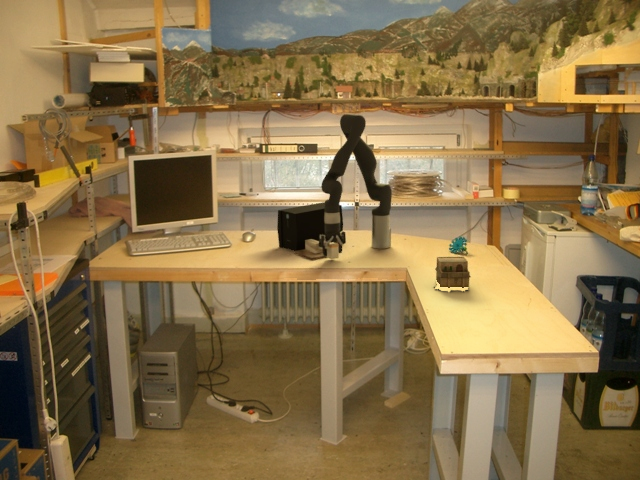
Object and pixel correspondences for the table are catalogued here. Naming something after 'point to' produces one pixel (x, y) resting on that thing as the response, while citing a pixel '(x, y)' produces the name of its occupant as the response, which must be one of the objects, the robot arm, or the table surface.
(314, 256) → the ticket board
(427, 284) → the table surface
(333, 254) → the orange-striped cream block
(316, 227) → the uninterruptible power supply
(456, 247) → the teal spiky round piece
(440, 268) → the miniature house
